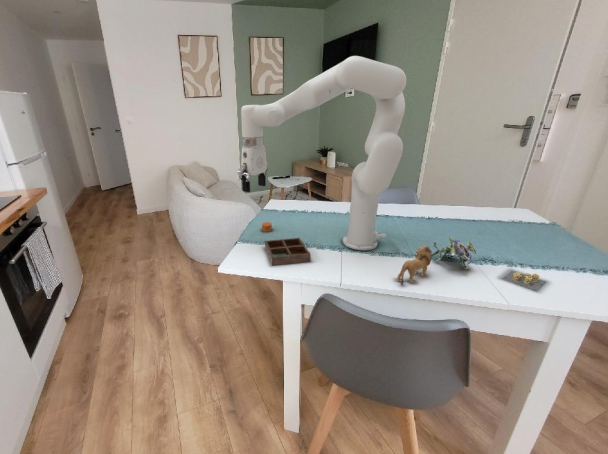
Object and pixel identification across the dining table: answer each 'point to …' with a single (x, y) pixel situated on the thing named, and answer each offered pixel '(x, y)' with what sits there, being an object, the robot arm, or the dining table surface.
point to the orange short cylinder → (266, 227)
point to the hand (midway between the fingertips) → (254, 188)
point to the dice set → (525, 280)
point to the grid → (287, 251)
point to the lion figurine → (416, 264)
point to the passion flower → (457, 252)
